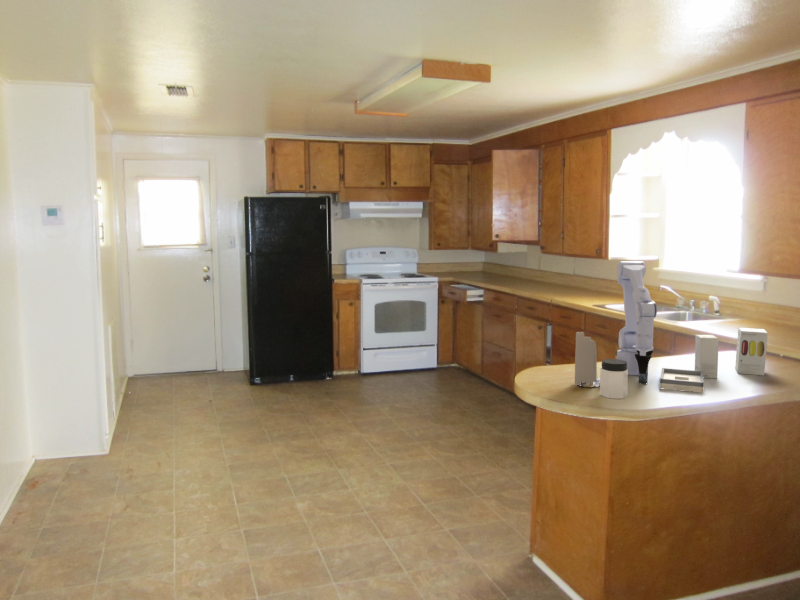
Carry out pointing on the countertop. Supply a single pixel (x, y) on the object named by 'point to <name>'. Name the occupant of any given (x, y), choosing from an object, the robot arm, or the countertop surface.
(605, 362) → the jar
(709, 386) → the countertop surface
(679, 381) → the tray
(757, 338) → the supplement box
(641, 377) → the peg
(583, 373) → the beige stepped upright panel
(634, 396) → the countertop surface
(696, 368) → the skincare box
